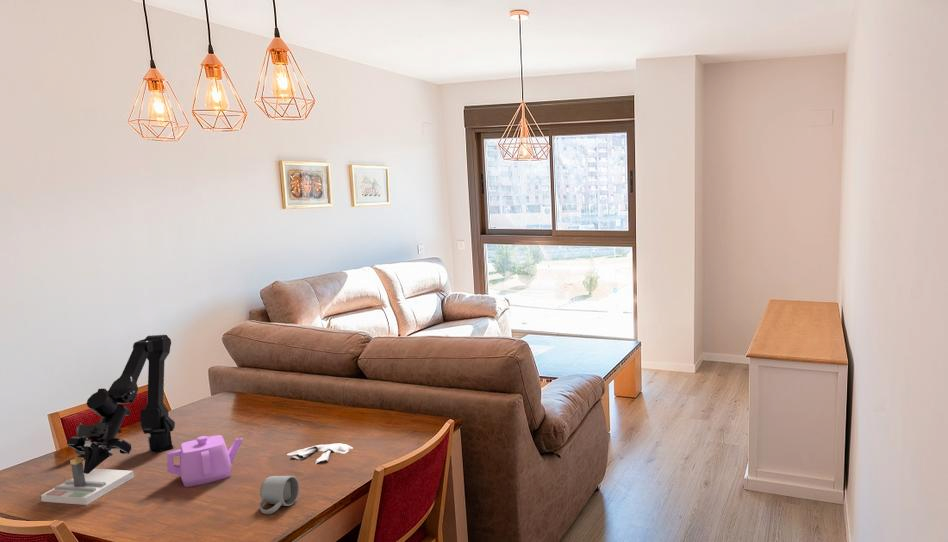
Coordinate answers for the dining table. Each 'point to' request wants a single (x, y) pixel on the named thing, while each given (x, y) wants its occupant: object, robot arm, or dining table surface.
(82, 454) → the grey statuette
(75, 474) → the knob
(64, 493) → the switch board
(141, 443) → the dining table surface
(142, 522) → the dining table surface
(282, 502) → the ceramic mug
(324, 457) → the cloth
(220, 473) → the teakettle
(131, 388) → the robot arm
